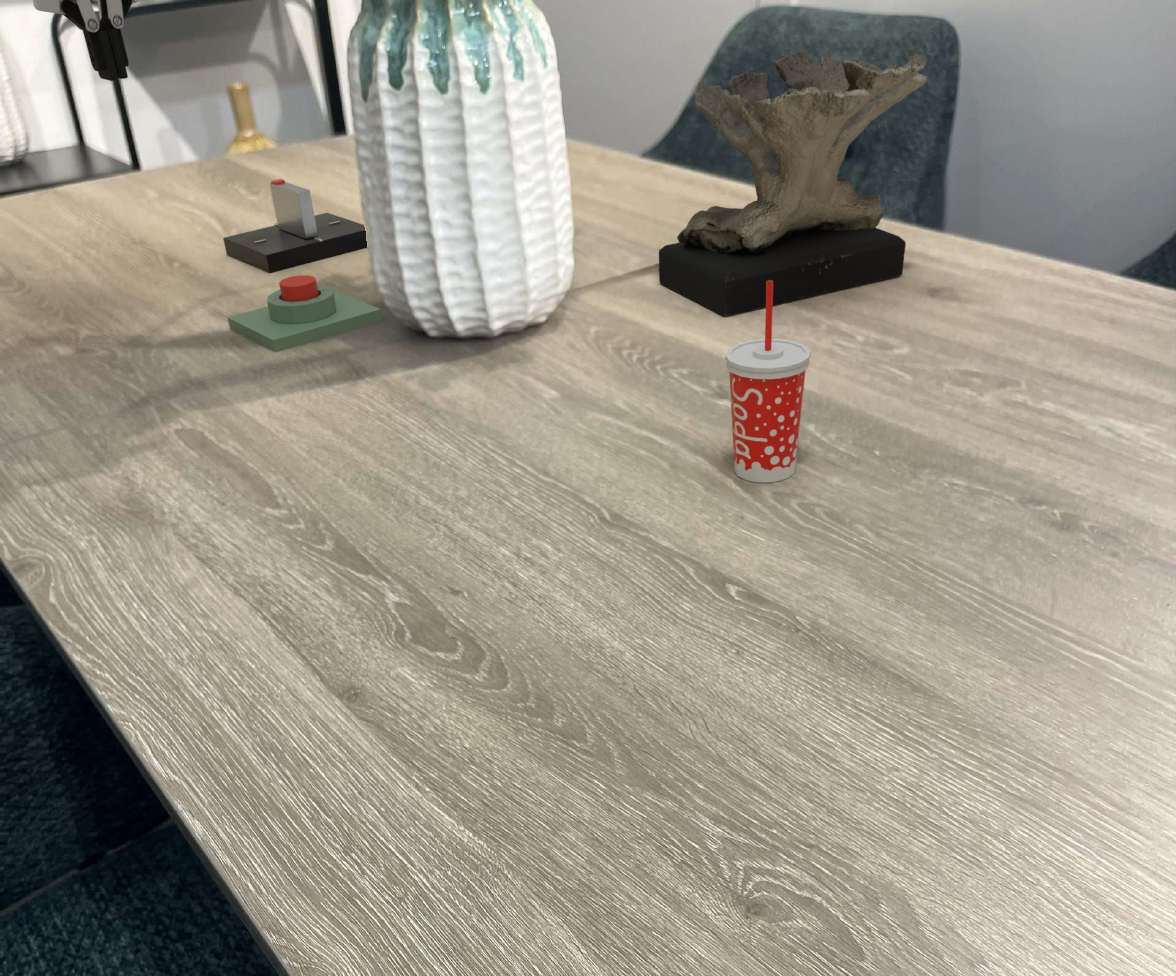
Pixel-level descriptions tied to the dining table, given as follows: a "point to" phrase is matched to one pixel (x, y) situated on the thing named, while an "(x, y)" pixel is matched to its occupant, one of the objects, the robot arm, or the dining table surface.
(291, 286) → the button
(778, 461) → the beverage cup
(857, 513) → the dining table surface
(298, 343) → the button block
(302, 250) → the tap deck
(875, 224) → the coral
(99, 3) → the robot arm
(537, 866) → the dining table surface
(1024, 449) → the dining table surface
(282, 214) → the upright grey panel
